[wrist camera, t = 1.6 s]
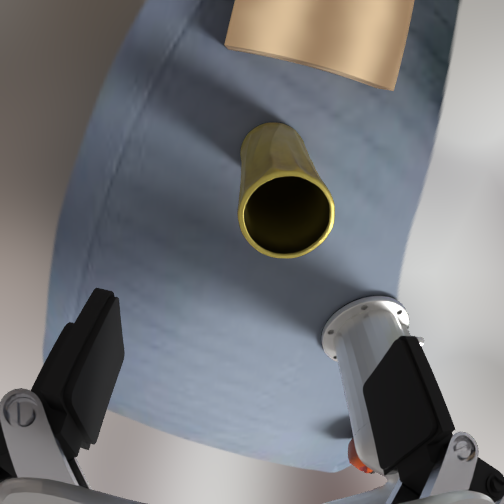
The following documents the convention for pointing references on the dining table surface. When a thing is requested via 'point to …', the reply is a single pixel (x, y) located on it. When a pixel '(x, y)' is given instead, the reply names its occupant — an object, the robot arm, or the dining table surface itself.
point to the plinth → (326, 35)
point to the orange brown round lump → (357, 458)
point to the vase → (282, 194)
